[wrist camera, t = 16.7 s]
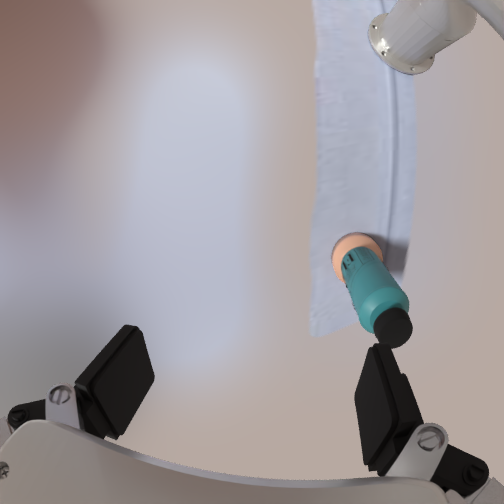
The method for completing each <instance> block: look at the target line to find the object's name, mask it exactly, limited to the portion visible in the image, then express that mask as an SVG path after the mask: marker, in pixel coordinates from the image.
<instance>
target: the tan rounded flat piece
mask: <svg viewBox="0 0 504 504" xmlns="http://www.w3.org/2000/svg"><path fill="white" fill-rule="evenodd" d="M360 246H364V247H367V248H369V249H371V250H372V251H374V252H375V254H376V255H377V256H378V258H379V259H380V258H381V260H382V261H381V262H382V263H383V255H382V252H381V249H380V248H379V246H378V245H377V244H376V243H375V242H374V240H373V239H372V238H371V237H369V236H368V235H366V234H363V233H358V232H355V233H350V234H347V235H345V236H343V237H342V238H341V239H339V240H338V241H337V243H336V244H335V246H334V248H333V251H332V256H331V258H332V264H333V267H334V270H335V273H336V275H337V276H338V278H339V279H340V280H341V281H342V282H344V281H345V280H343V277H342V276H343V275H342V271H341V265H340V264H341V262H342V258H343V257H344V255H345V254H346V253H347V252H348V251H349V250H351V249H353V248H355V247H360ZM344 283H346V282H344Z"/></svg>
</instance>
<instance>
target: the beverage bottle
mask: <svg viewBox="0 0 504 504" xmlns="http://www.w3.org/2000/svg"><path fill="white" fill-rule="evenodd" d="M381 261H382V260H381V258H380V259H379V258H378V256H377V255H376V254H375V252H374V251H372V250H371V249H369V248H367V247H364V246H360V247H355V248H353V249H351V250H349V251H348V252H347V253H346V254H345V255H344V257H343V258H342V262H341V264H340V265H341V271H342V275H343V276H342V277H343V280H345V281H344V282H346V283H345V284H346V287H347V288H348V290H349V293H350V295H351V298H352V301H353V302H352V304H353V303H354V306H355V308H354V310H355V311H357V313H358V316H359V321H360V323H361V325H362V327H363V328H364V329H365V330H367V331H368V332H370V333H373V334H375V336H376V338H377V339H378V341H379V343H388V344H389V345H390V348H391V349H393V348H397V347H400V346H402V345H403V344H404V343H406V341H408V339H409V338H410V336H411V334H412V329H413V327H412V323H411V321H410V318H409V315H408V311H409V300H408V297H407V295H406V294H405V293H404V292H403V291H402V289H401V288H400V286H399V285H398V284H397V282H396V281H395V280H394V278H393V277H392V276H391V274H390V273H389V271H388V270H389V269H388V270H387V268H386V267H385V265H384V264H383V263H382V262H381Z"/></svg>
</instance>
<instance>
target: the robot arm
mask: <svg viewBox="0 0 504 504" xmlns="http://www.w3.org/2000/svg"><path fill="white" fill-rule="evenodd" d="M477 13H478V14H479V15H480V16H481V17H483V18H484V19H485V20H486V21H487V22H488V23H489V24H490V25H491V26H492V27H493V28H494V29H495V31H496V32H497V33H498V34H499V35H500V36H501V37H502V38H503V40H504V0H398V1H397V3H396V4H395V5H394V7H393V8H392V10H391V11H390V13H385V14H381V15H378V16H377V17H376V18H374V19H373V21H372V22H371V24H370V26H369V30H368V36H369V41H370V43H371V46H372V48H373V49H374V51H375V52H376V54H377V55H378V56H379V57H380V58H381V59H382V60H383V61H384V62H385V63H386V64H387V65H389V66H390V67H392V68H394V69H395V70H397V71H400V72H403V73H406V74H420V73H423V72H425V71H426V70H428V69H429V68H430V67H431V66H432V64H433V62H434V56H435V54H436V53H438V52H439V51H441V50H442V49H444V48H446V47H447V46H449V45H450V44H452V43H454V42H455V41H457V40H459V39H460V38H462V37H463V36H465V35H467V34H468V33H470V32H471V31H472V29H473V28H474V26H475V23H476V16H477ZM382 54H383V55H384V56H383V55H382ZM154 377H155V375H154V372H153V369H152V365H151V362H150V358H149V355H148V351H147V348H146V344H145V340H144V336H143V333H142V331H141V330H139V328H138V327H137V326H132V325H124V326H123V327H122V328H121V329H120V330H119V332H118V333H117V334H116V335H115V336H114V337H113V338H112V339H111V340H110V342H109V343H108V344H107V345H106V346H105V347H104V348H103V350H102V351H101V352H100V353H99V354H98V355H97V356H96V357H95V359H94V360H93V361H92V362H91V363H90V364H89V366H88V367H87V368H86V369H85V371H83V373H82V374H81V375H80V376H79V377H78V378H77V380H76V381H75V384H76V385H75V386H74V387H73V386H72V385H70V384H68V383H59V384H55V385H54V386H52V387H51V388H50V389H49V390H48V391H47V393H46V399H43V400H39V401H34V402H30V403H25V404H20V405H17V406H15V407H14V408H12V409H11V410H10V412H9V414H8V419H6V417H3V418H1V419H0V504H504V486H503V485H502V484H501V483H500V482H498V481H497V480H496V479H495V478H494V477H493V478H492V479H490V478H489V477H488V476H489V469H488V466H487V464H486V463H485V462H484V461H483V460H481V459H479V458H477V457H475V456H473V455H470V454H468V453H466V452H464V451H462V450H460V449H457V448H456V447H454V446H451V445H449V444H448V434H447V432H446V431H445V429H444V428H443V427H441V426H440V425H438V424H435V423H425V424H424V422H423V419H422V417H421V413H420V410H419V408H418V405H417V402H416V399H415V397H414V394H413V391H412V389H411V386H410V383H409V381H408V378H407V376H406V375H405V374H404V373H403V374H401V373H400V370H399V367H398V365H397V362H396V360H395V357H394V355H393V352H392V350H391V348H390V345H389V344H388V343H375V344H374V345H373V347H370V348H369V349H368V353H367V356H366V359H365V363H364V366H363V370H362V373H361V376H360V379H359V382H358V385H357V388H356V391H355V406H356V412H357V418H358V425H359V431H360V438H361V446H362V453H363V461H364V465H368V469H369V471H377V474H378V475H379V476H380V477H369V478H354V479H340V480H280V479H265V478H254V477H245V476H238V475H230V474H224V473H218V472H213V471H207V470H202V469H197V468H193V467H188V466H184V465H180V464H176V463H172V462H168V461H165V460H161V459H157V458H154V457H151V456H148V455H145V454H141V453H139V452H136V451H132V450H130V449H127V448H124V447H121V446H119V445H116V444H114V443H111V442H108V441H106V440H104V438H105V436H107V437H110V438H112V439H115V440H117V439H118V437H119V436H120V435H123V434H124V432H125V431H126V429H127V427H128V425H129V424H130V422H131V420H132V418H133V417H134V415H135V413H136V411H137V409H138V408H139V406H140V404H141V402H142V401H143V399H144V397H145V396H146V394H147V392H148V391H149V389H150V387H151V385H152V384H153V382H154Z"/></svg>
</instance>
